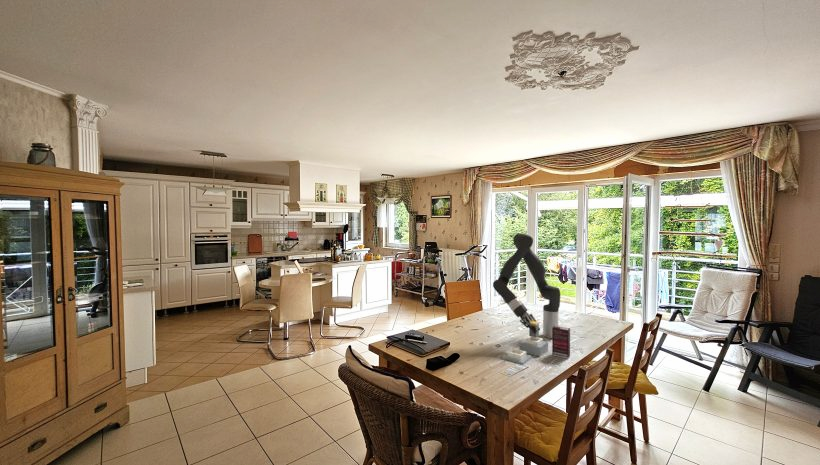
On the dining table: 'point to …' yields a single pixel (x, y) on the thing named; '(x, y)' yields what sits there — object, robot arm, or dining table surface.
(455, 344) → the dining table surface
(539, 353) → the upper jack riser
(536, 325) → the plug
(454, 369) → the dining table surface
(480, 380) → the dining table surface
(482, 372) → the dining table surface
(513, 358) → the plate
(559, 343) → the supplement box
